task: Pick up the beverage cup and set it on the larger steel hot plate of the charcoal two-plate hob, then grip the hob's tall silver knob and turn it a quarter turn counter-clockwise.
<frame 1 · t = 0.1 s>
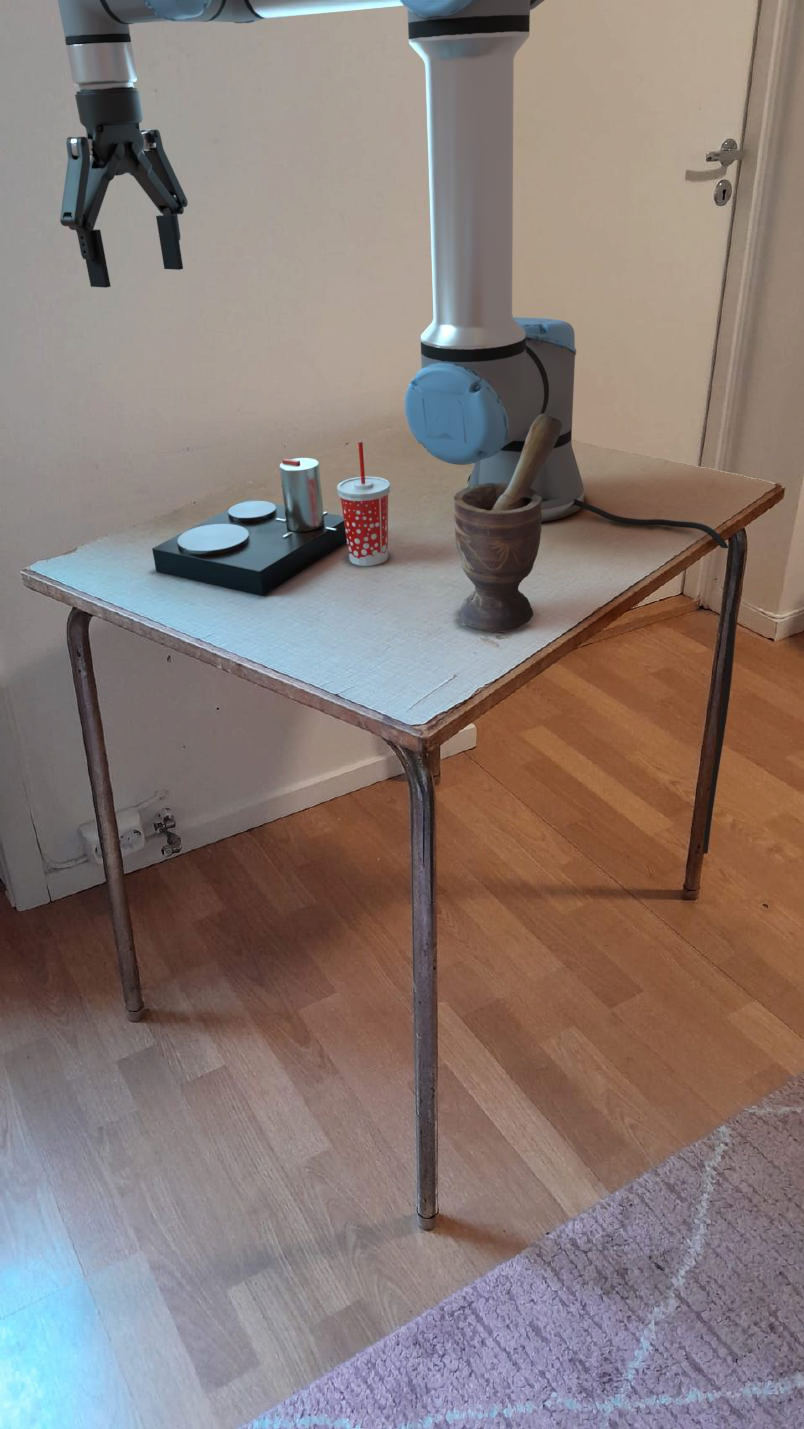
hand: (138, 278, 136), 28 cm above the table, tool pointing down, fingers open, 13 cm apart
hob: (256, 555, 126), on the table
knob: (302, 493, 124), point 7 cm above the table, hinge at 0.0°
hot plates: (253, 532, 125), resting on hob
beverage cup: (368, 559, 124), on the table
mortar and pestle: (505, 613, 110), on the table
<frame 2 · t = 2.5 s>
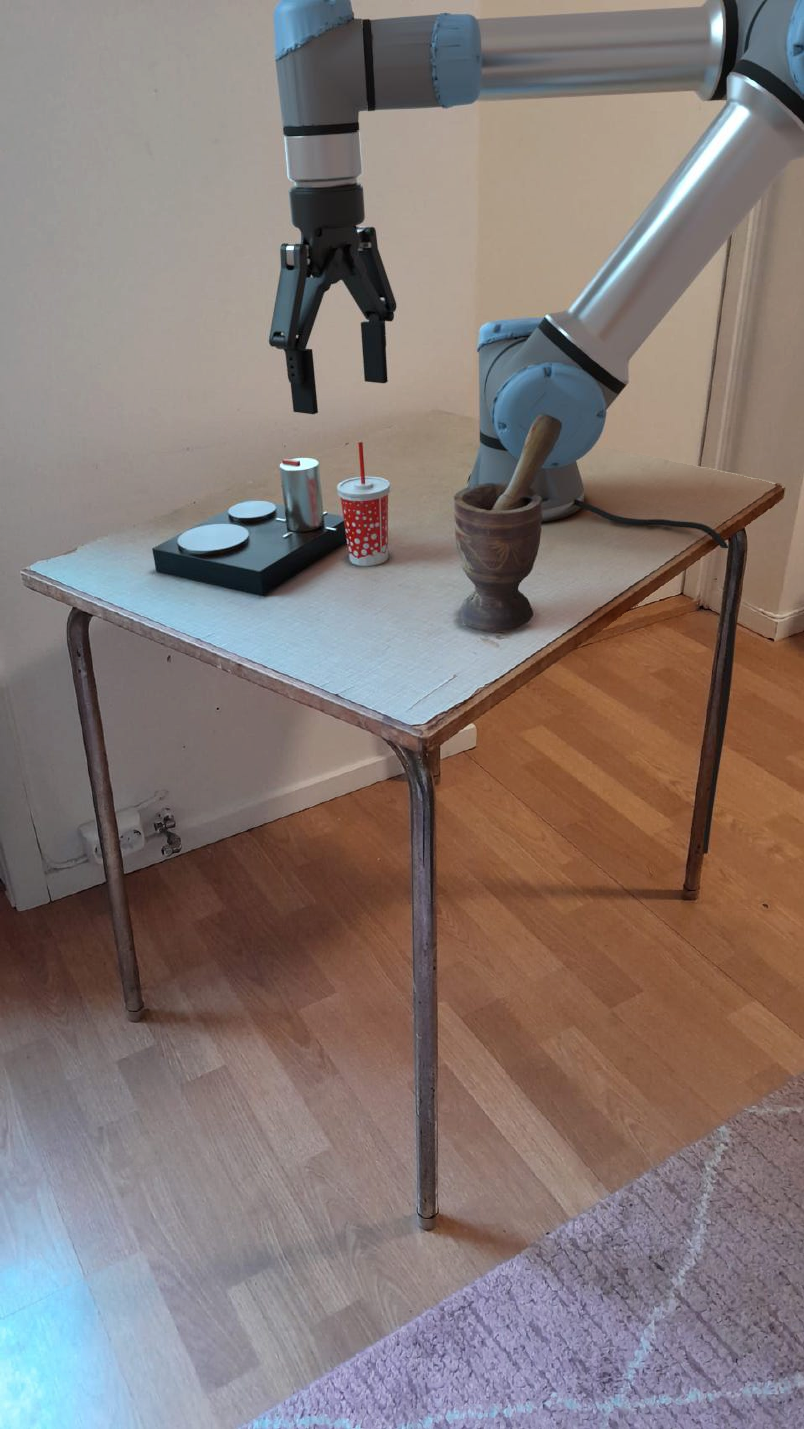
hand: (342, 396, 116), 19 cm above the table, tool pointing down, fingers open, 13 cm apart
nothing on the table moved.
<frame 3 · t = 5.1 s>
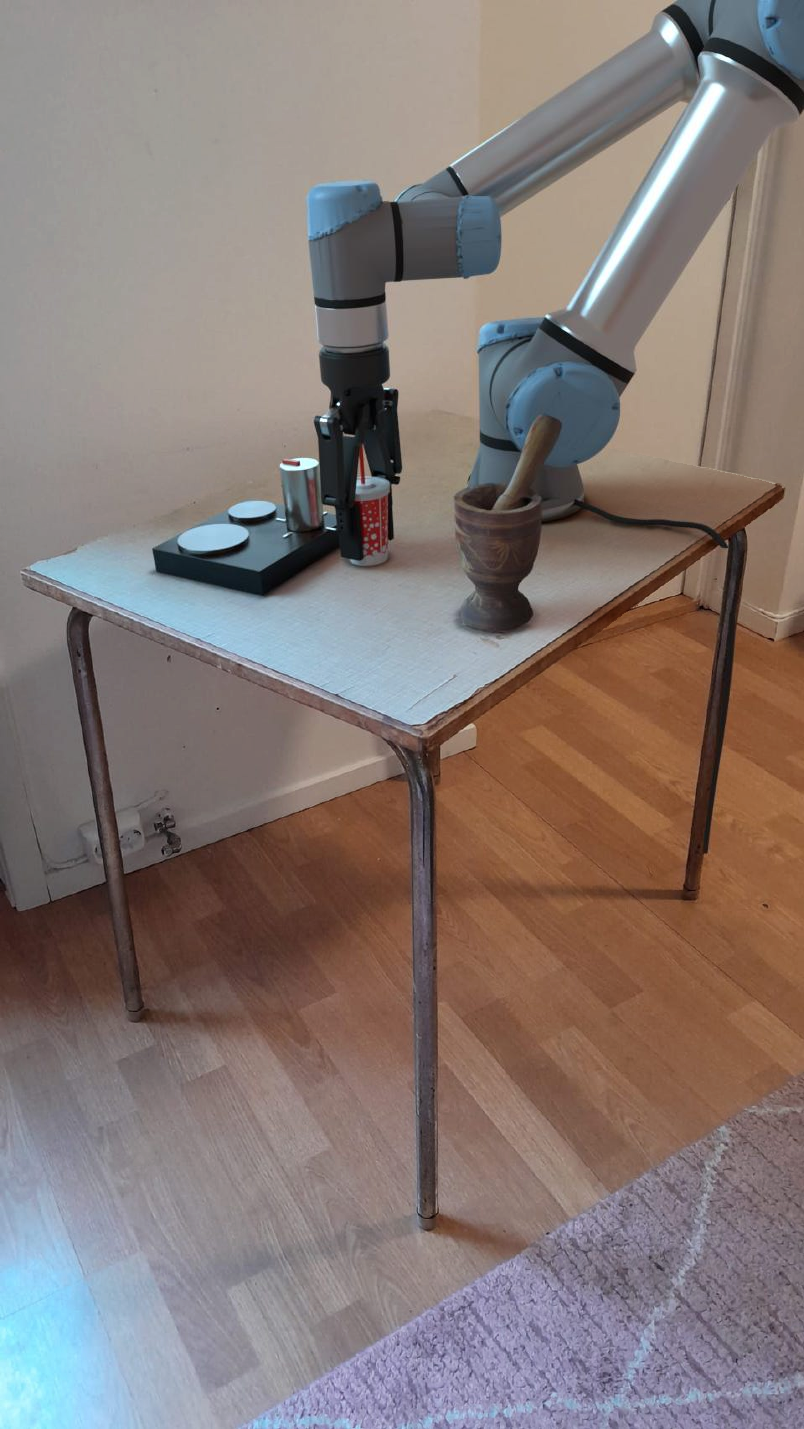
hand: (367, 547, 123), 1 cm above the table, tool pointing down, fingers closed on beverage cup, 6 cm apart
beverage cup: (368, 559, 124), on the table, touching gripper
everything else where it was.
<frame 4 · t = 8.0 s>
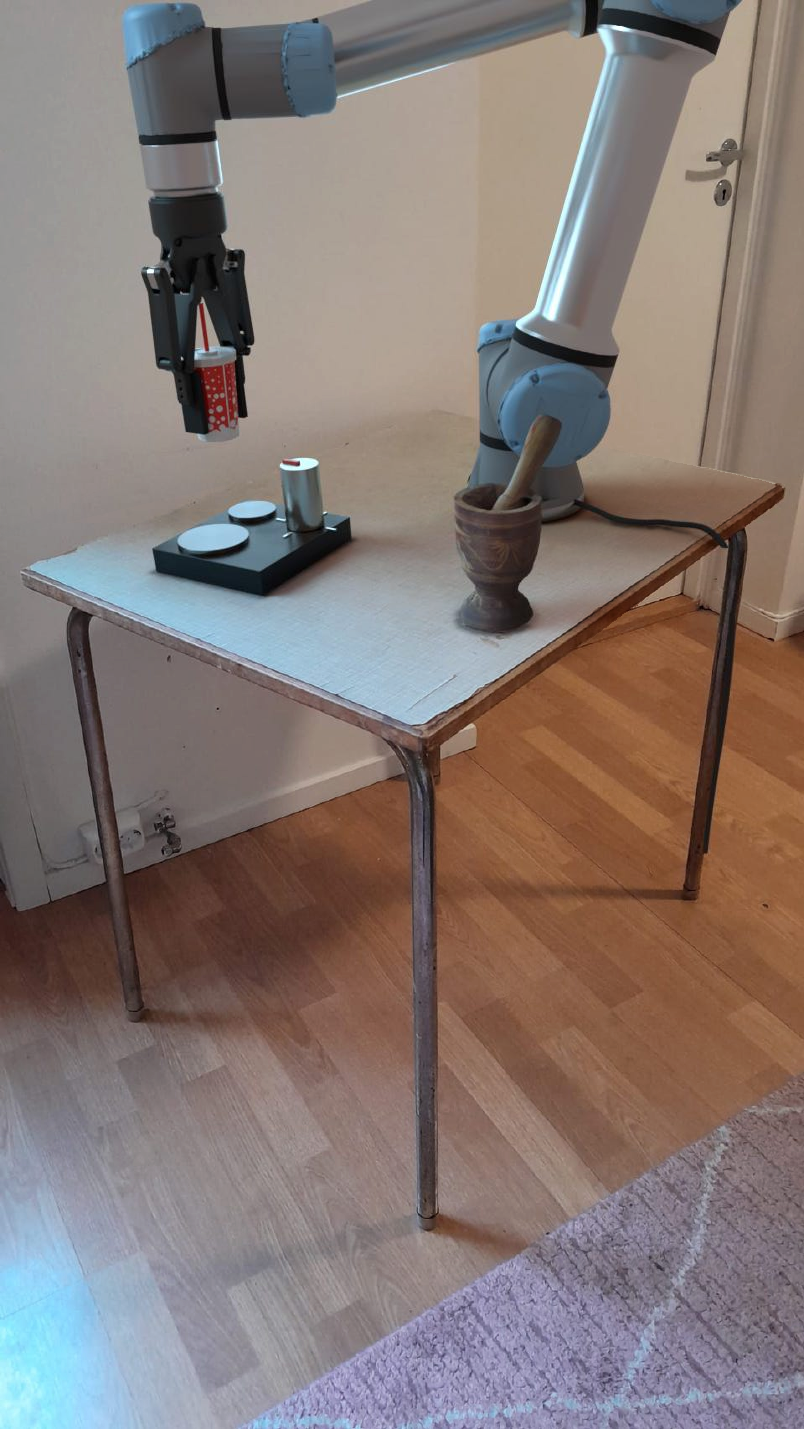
hand: (217, 423, 116), 17 cm above the table, tool pointing down, fingers closed on beverage cup, 6 cm apart
beverage cup: (219, 437, 116), point 15 cm above the table, touching gripper
everything else where it was.
when the fingers open (5 cm above the table, at t = 11.1 s): beverage cup stays where it is, resting on hot plates.
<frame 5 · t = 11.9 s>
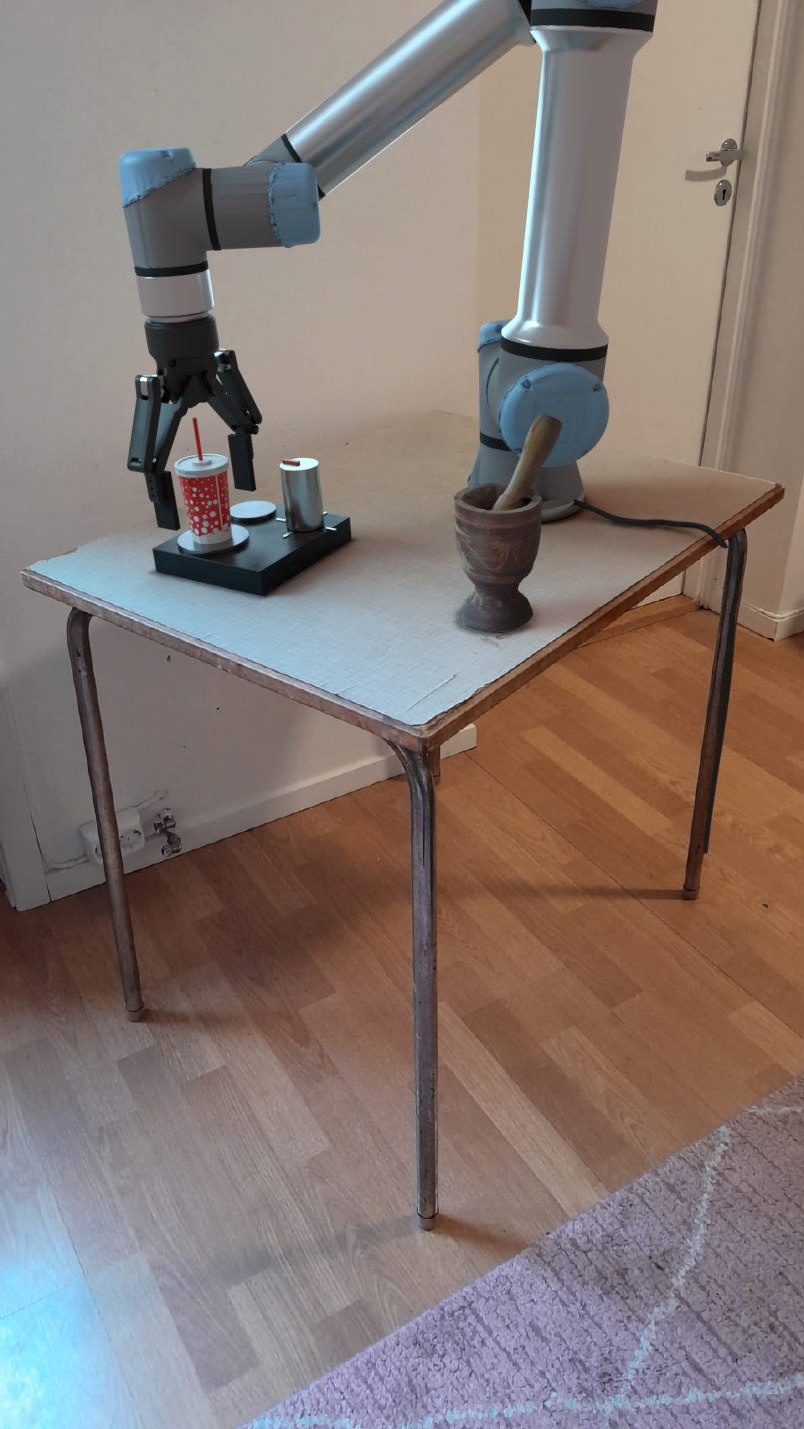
hand: (209, 508, 121), 7 cm above the table, tool pointing down, fingers open, 13 cm apart
beverage cup: (212, 538, 123), point 3 cm above the table, touching hot plates
everything else where it was.
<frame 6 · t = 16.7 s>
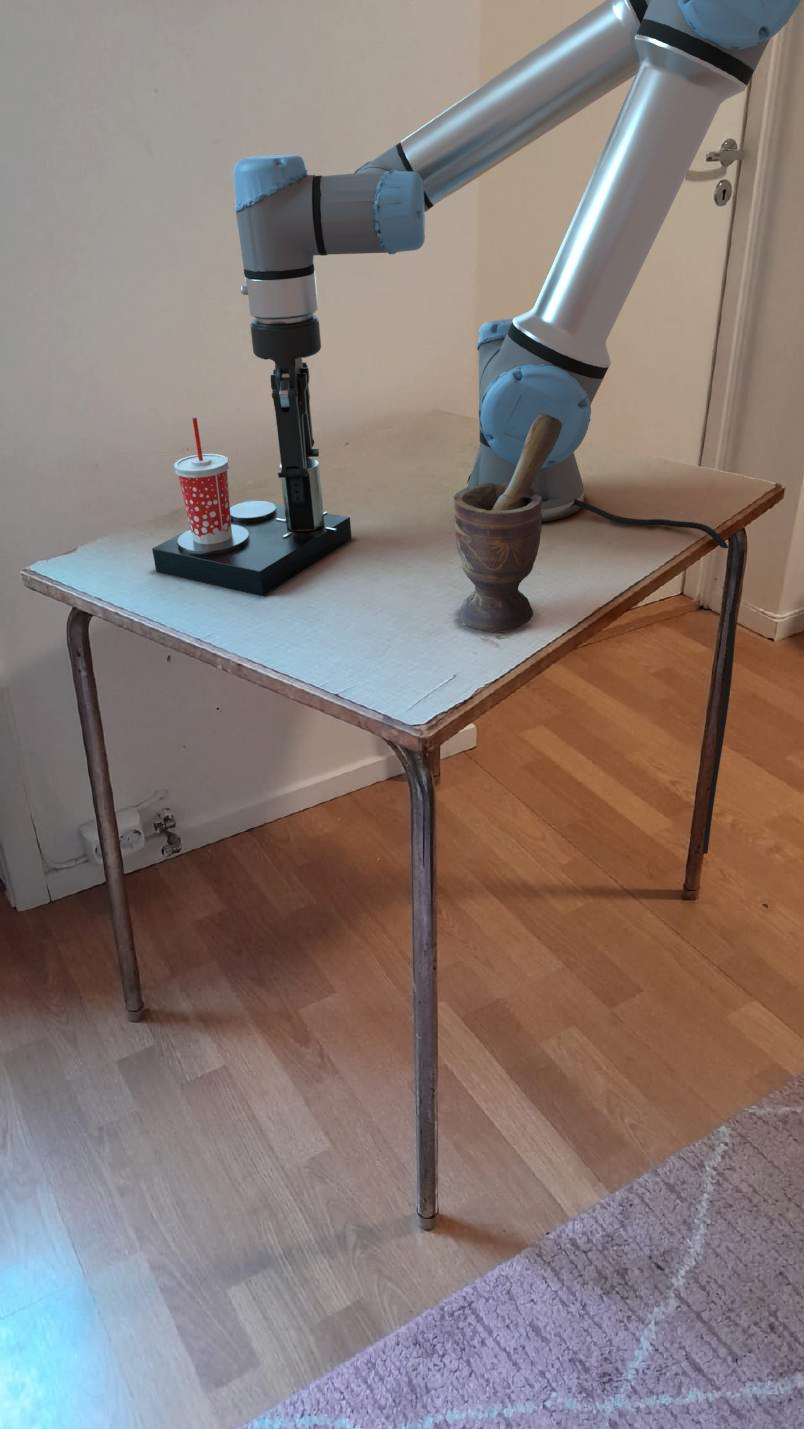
hand: (304, 519, 126), 4 cm above the table, tool pointing down, fingers closed on knob, 5 cm apart
knob: (302, 493, 124), point 7 cm above the table, hinge at -0.1°, touching gripper
everything else where it was.
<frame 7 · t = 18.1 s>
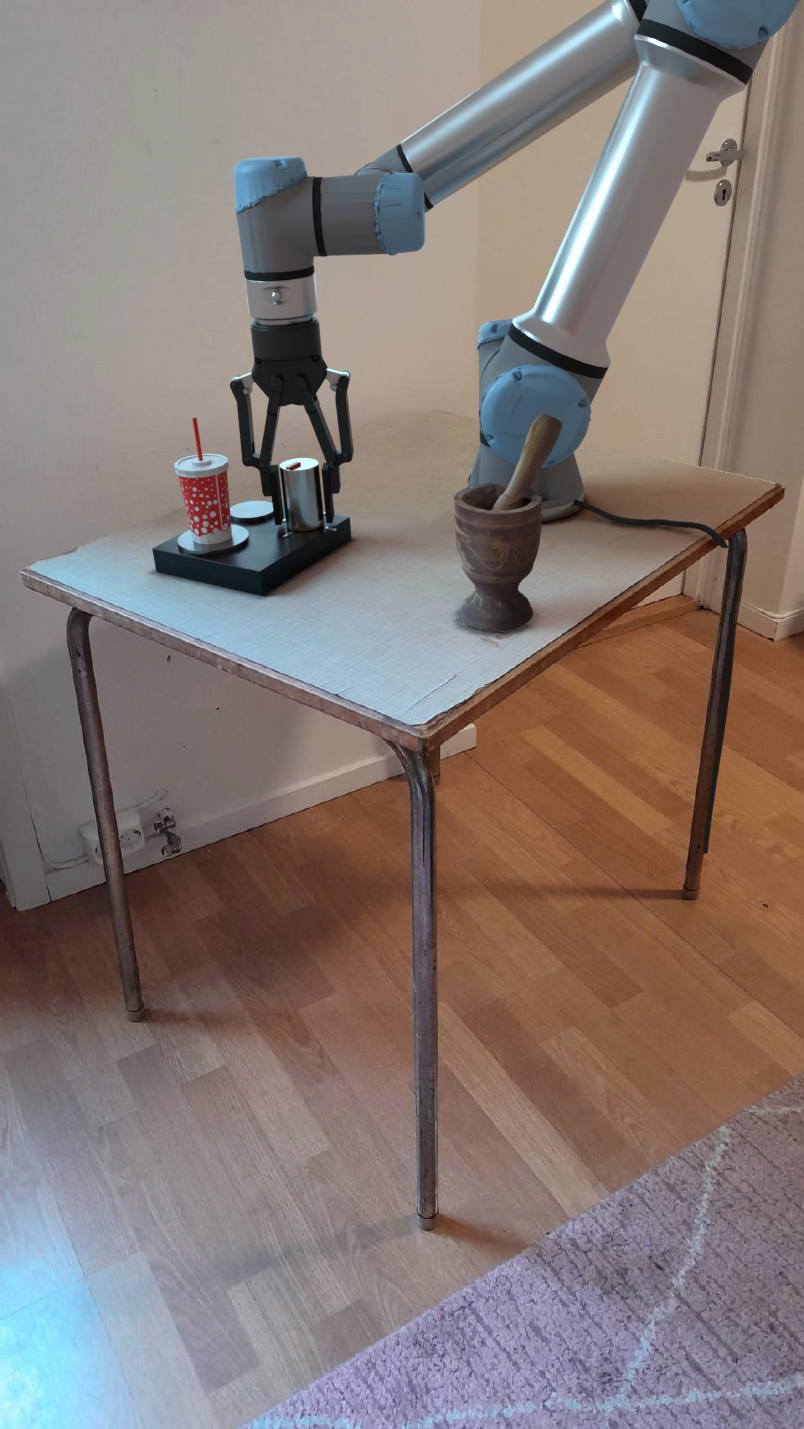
hand: (304, 519, 126), 4 cm above the table, tool pointing down, fingers open, 5 cm apart
knob: (302, 493, 124), point 7 cm above the table, hinge at 89.4°
everything else where it was.
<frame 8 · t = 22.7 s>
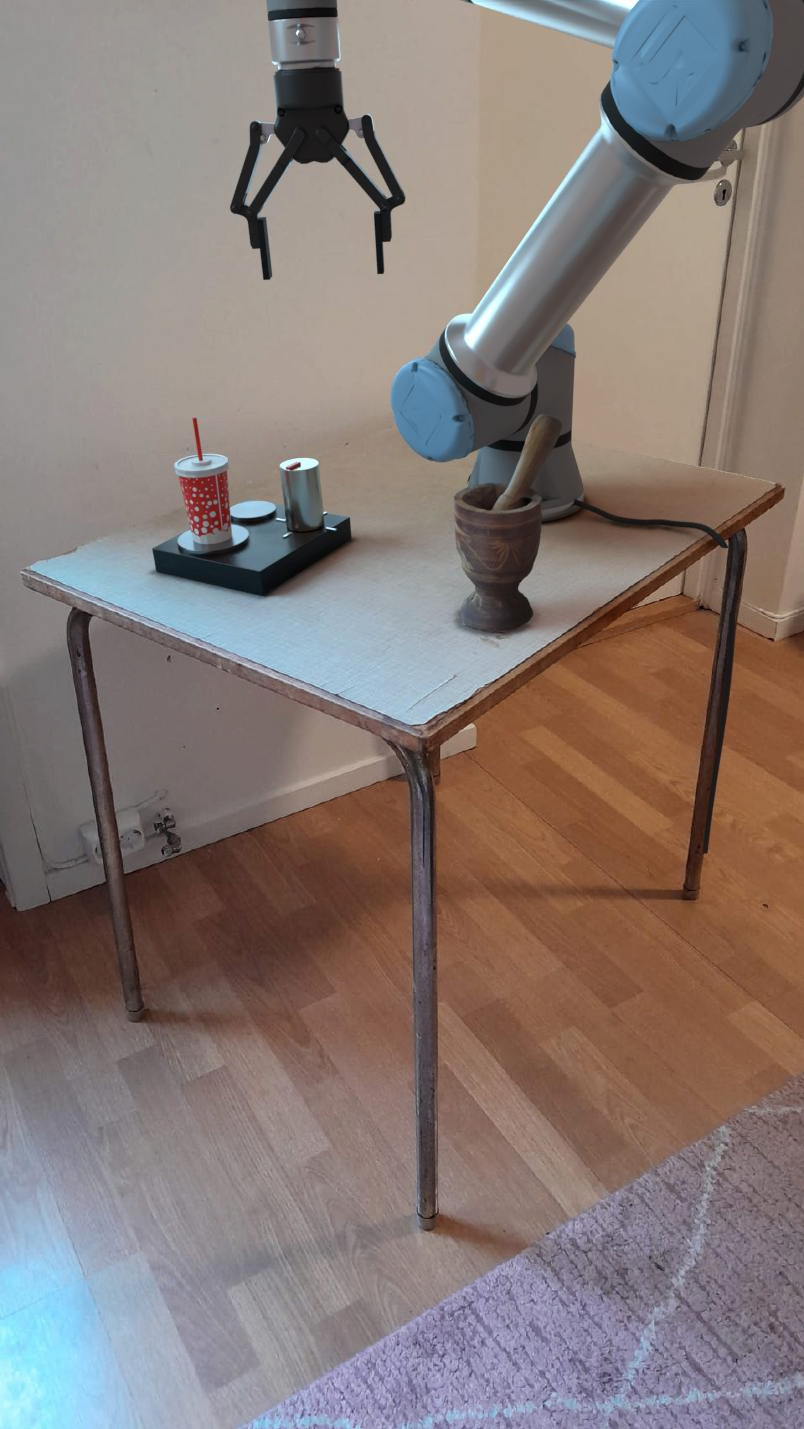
hand: (324, 275, 125), 29 cm above the table, tool pointing down, fingers open, 13 cm apart
nothing on the table moved.
at the end: beverage cup 0.0 cm from the target spot, point 3.4 cm above the table; beverage cup tilted 0°; knob at +89° (first picture: +0°) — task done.
